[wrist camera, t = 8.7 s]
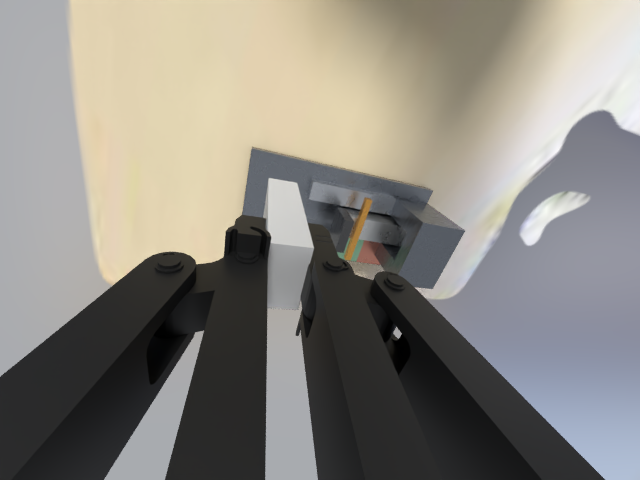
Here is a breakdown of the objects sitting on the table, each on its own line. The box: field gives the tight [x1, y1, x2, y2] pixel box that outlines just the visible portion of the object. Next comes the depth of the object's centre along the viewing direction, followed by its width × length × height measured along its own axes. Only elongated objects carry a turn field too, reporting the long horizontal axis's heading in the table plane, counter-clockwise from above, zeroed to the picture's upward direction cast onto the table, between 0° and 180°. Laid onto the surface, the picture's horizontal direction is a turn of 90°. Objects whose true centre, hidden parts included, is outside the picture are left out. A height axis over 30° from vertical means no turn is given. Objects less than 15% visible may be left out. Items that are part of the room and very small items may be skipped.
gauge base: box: [242, 147, 465, 289], centre depth 35 cm, size 13×26×10 cm, turn 75°
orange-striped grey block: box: [330, 197, 407, 260], centre depth 37 cm, size 9×13×6 cm
